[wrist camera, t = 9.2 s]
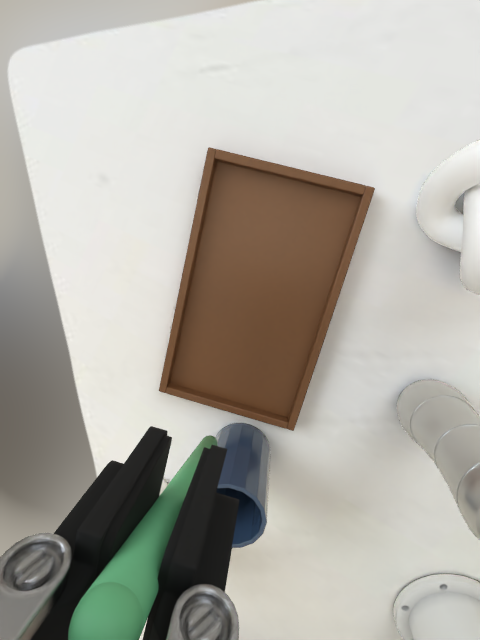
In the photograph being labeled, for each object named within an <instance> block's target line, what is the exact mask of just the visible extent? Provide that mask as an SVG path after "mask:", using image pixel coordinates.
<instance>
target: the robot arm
mask: <svg viewBox="0 0 480 640" xmlns="http://www.w3.org/2000/svg"><path fill="white" fill-rule="evenodd" d="M171 440H172V437H169V436H167V431H165V430H162V429H159V428H155V427H152V426H151V427H150V428H149V429H148V431H147V432H146V433H145V435H144V436H143V438H142V439H141V441H140V442H139V443H138V445H137V446H136V448H135V449H134V450H133V452H132V453H131V455H130V456H129V458H128V459H127V460H126V462H125V463H124V464H122V463H119V462H116V461H111V462H109V463H108V464H107V466H106V467H105V468H104V469H103V471H102V472H101V473H100V475H99V476H98V477H97V478H96V480H95V481H94V482H93V484H92V485H91V486H90V487H89V489H88V490H87V491H86V493H85V494H84V495H83V496H82V498H81V499H80V500H79V502H78V503H77V504H76V506H75V507H74V508H73V510H72V511H71V512H70V513H69V515H68V516H67V517H66V518H65V520H64V521H63V522H62V524H61V525H60V526H59V528H58V529H57V530H56V531H55V533H54V534H52V533H39V534H35V535H32V536H28V537H26V538H24V539H22V540H21V541H19V542H17V543H15V544H14V545H13V546H12V547H11V548H9V549H8V550H7V551H6V552H5V553H4V554H3V555H2V556H1V557H0V640H68V632H69V626H70V622H71V618H72V615H73V613H74V611H75V608H76V607H77V605H78V603H79V601H80V600H81V598H82V597H83V596H84V594H85V593H86V592H87V590H88V589H89V588H90V587H91V585H92V584H93V583H94V581H95V580H96V579H97V577H98V576H99V575H100V573H101V572H102V571H103V569H104V568H105V567H106V566H107V564H108V563H109V562H110V561H111V559H112V558H113V557H114V555H115V554H116V553H117V551H118V550H119V549H120V548H121V546H122V545H123V544H124V542H125V541H126V540H127V538H128V537H129V536H130V534H131V533H132V532H133V530H134V529H135V528H136V527H137V525H138V524H139V523H140V521H141V520H142V519H143V517H144V516H145V515H146V513H147V512H148V511H149V509H150V508H151V507H152V506H153V504H154V503H155V502H156V500H157V499H158V498H159V494H160V490H161V485H162V481H163V476H164V472H165V467H166V463H167V458H168V454H169V449H170V445H171ZM226 453H227V449H226V448H222V447H219V446H216V445H211V448H210V449H209V448H206V447H204V449H203V451H202V454H201V456H200V459H199V462H198V464H197V467H196V470H195V472H194V475H193V478H192V480H191V483H190V486H189V488H188V491H187V494H186V496H185V499H184V502H183V504H182V507H181V510H180V512H179V515H178V517H177V520H176V523H175V525H174V528H173V531H172V533H171V536H170V539H169V541H168V544H167V547H166V550H165V553H164V556H163V559H162V562H161V566H160V570H159V574H158V578H157V579H158V584H159V589H158V593H157V596H156V598H155V601H154V603H153V606H152V608H151V611H150V613H149V616H148V620H147V624H146V628H145V632H144V637H143V640H238V638H239V622H238V614H237V612H236V609H235V606H234V604H233V602H232V601H231V599H230V598H229V596H228V595H227V594H226V593H225V586H226V580H227V574H228V568H229V562H230V555H231V549H232V543H233V537H234V531H235V525H236V519H237V513H238V507H239V499H236V498H232V497H229V496H226V495H223V494H219V493H216V491H217V487H218V483H219V480H220V476H221V472H222V468H223V464H224V460H225V457H226ZM393 616H394V620H395V624H396V627H397V629H398V632H399V634H400V635H401V637H402V638H403V640H480V582H478V581H476V580H474V579H471V578H468V577H465V576H461V575H454V574H437V575H430V576H426V577H423V578H420V579H418V580H416V581H414V582H412V583H410V584H409V585H408V586H406V587H405V588H404V589H403V590H402V591H401V592H400V593H399V595H398V597H397V598H396V600H395V603H394V607H393Z"/></svg>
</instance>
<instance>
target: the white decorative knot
mask: <svg viewBox="0 0 480 640" xmlns="http://www.w3.org/2000/svg"><path fill="white" fill-rule="evenodd" d="M463 192H465V194H464V201H463V212H464V214H462V213H460V212H459V211H458V210H457V209H456V208H455V203H456V201H457V199H458V198H459V197H460V195H461V194H462V193H463ZM416 215H417V220H418V223H419V225H420V227H421V229H422V230H423V232H424V233H425V234H426V235H427V236H428V237H429V238H430V239H432V240H433V241H434V242H436V243H438V244H440V245H442V246H445V247H448V248H450V249H453V250H455V251H459V252H461V259H460V280H461V282H462V284H463V285H464V286H465V288H466V289H467V290H469V291H471V292H474V293H476V294H480V140H477V141H475V142H473V143H471V144H469V145H467V146H465V147H463V148H462V149H460V150H459V151H457V152H456V153H454V154H453V155H452V156H450V157H449V158H447V159H446V160H445V161H443V162H442V163H441V164H440V165H439V166H438V167H437V168H436V169H435V170H434V171H433V172H432V173H431V174H430V175H429V177H428V178H427V179H426V181H425V182H424V184H423V186H422V188H421V190H420V192H419V196H418V201H417V206H416Z"/></svg>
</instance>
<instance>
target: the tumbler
mask: <svg viewBox="0 0 480 640" xmlns="http://www.w3.org/2000/svg"><path fill="white" fill-rule="evenodd" d="M215 438H216V440H217V446H219V447H222V448H226V449H227V453H226V457H225V460H224V464H223V468H222V472H221V476H220V480H219V483H218V487H217V491H216V493H219V494H223V495H226V496H229V497H232V498H236V499H239V507H238V513H237V519H236V525H235V531H234V537H233V543H232V548H241V547H244V546H247V545H249V544H252V543H254V542H255V541H256V540H257V539H258V538H259V537H260V536H261V535H262V534H263V532H264V529H265V526H266V523H267V507H268V490H269V472H270V445H269V442H268V440H267V438H266V436H265V435H264V434H263V433H262V432H261V431H260V430H259V429H257V428H256V427H254V426H251V425H249V424H244V423H235V424H231V425H228V426H226V427H224V428H223V429H221V430H220V431H219V432H218V434H217V435H216V437H215Z"/></svg>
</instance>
